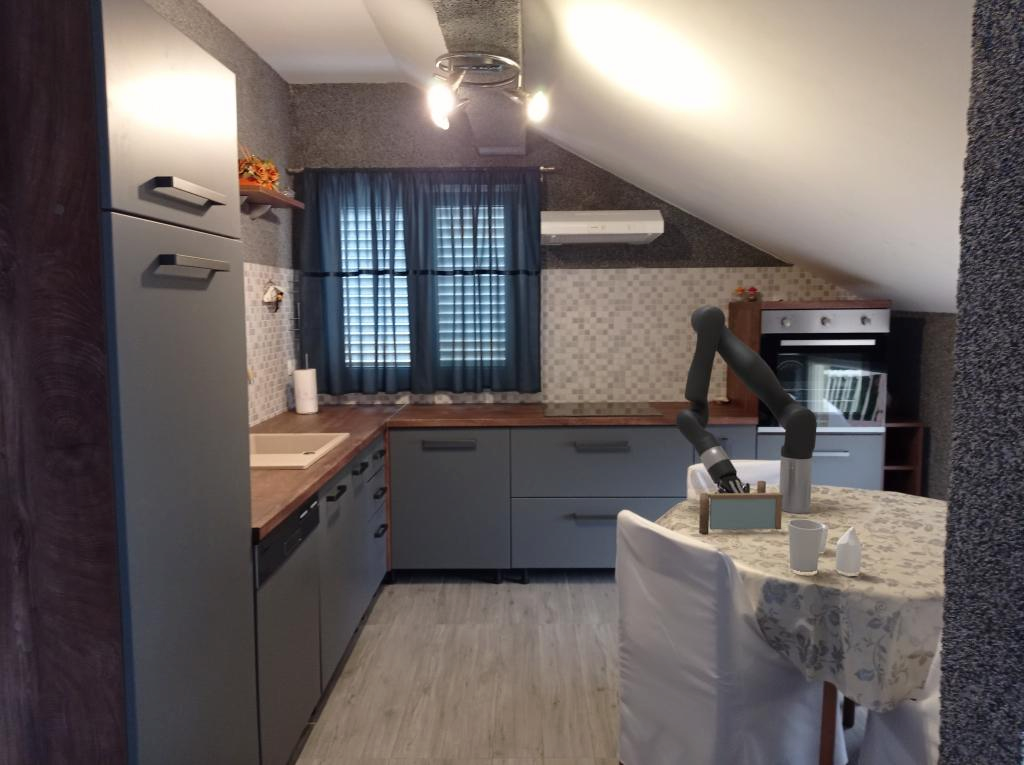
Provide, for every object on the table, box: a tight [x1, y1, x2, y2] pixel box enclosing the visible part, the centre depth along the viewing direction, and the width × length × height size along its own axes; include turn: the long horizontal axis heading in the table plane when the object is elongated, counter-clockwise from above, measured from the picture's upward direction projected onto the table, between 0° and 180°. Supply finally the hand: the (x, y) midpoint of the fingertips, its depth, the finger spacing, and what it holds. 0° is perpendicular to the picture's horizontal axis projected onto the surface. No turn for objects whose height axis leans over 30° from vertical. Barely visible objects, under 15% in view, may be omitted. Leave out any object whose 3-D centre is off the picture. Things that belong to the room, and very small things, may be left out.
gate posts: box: [698, 480, 767, 535], centre depth 207 cm, size 27×3×11 cm, turn 121°
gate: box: [708, 492, 783, 531], centre depth 201 cm, size 20×2×10 cm, turn 90°
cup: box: [787, 518, 823, 572], centre depth 173 cm, size 8×8×12 cm
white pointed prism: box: [834, 525, 863, 573], centre depth 172 cm, size 6×12×6 cm
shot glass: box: [819, 522, 829, 553], centre depth 187 cm, size 7×7×7 cm
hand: (748, 515), depth 203 cm, fingers closed
